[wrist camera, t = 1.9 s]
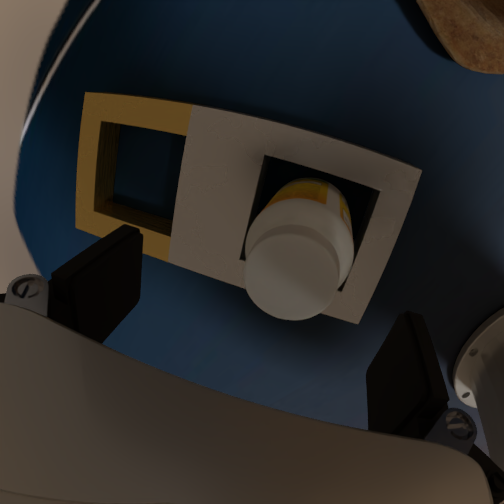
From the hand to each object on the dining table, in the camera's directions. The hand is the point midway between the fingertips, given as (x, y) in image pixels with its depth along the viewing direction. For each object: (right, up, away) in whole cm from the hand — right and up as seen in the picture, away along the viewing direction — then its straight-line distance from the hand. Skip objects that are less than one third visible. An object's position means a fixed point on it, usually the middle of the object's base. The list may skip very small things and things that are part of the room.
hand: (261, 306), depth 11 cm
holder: (-2, +6, +11) cm, 13 cm away
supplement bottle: (+4, +4, +11) cm, 12 cm away
